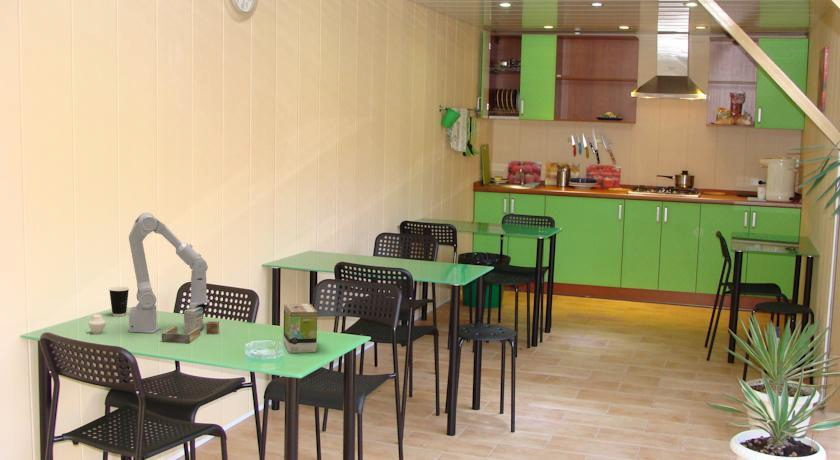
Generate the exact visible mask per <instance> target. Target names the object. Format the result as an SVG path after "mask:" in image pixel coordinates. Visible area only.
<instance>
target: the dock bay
mask: <svg viewBox="0 0 840 460" xmlns="http://www.w3.org/2000/svg"><path fill="white" fill-rule="evenodd" d="M200 336H201V330H200V327H198V328H196V329H194V330H193V331H191V332H190V333H178V326H177V325H174V326H172V327H170V328H169V329H167V330H165V331H163V332H162V333H161V342H162V343H180V344H190V343H192V342H193V341H194V340H196V339H197V338H199V337H200Z"/></svg>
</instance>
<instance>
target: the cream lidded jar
mask: <svg viewBox="0 0 840 460" xmlns="http://www.w3.org/2000/svg"><path fill="white" fill-rule="evenodd" d="M106 324H107V322H106V320H105V319H104V318H103V316H102V315H101V314H94V315H92V316H91V319H90V320H89V321H88V328H90V331H91V332H92V334H95V335H96V334H102V333H103V332H104V329H105V327H106Z"/></svg>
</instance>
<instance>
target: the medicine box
mask: <svg viewBox="0 0 840 460" xmlns="http://www.w3.org/2000/svg"><path fill="white" fill-rule="evenodd" d="M183 321H184V322H183V328H184V331H183V334H188V333H190V332H191V331H193V330H194V329H196V328H198V327H200V331H202V330H203V329H204V316H203V307H196V308H195V309H190V307H189V308H188V309H185V310H184V311H183Z"/></svg>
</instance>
